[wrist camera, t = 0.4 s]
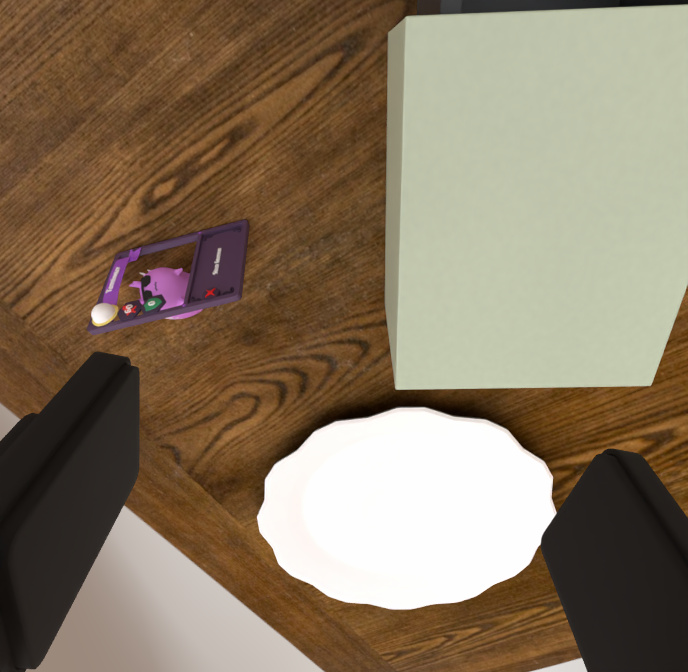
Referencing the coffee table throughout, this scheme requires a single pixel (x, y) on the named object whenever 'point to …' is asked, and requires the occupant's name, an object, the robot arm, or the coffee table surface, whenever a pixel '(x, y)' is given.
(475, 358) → the green drawer box
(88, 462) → the robot arm
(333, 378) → the coffee table surface
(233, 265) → the game card
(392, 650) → the coffee table surface
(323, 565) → the plate
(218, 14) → the coffee table surface
